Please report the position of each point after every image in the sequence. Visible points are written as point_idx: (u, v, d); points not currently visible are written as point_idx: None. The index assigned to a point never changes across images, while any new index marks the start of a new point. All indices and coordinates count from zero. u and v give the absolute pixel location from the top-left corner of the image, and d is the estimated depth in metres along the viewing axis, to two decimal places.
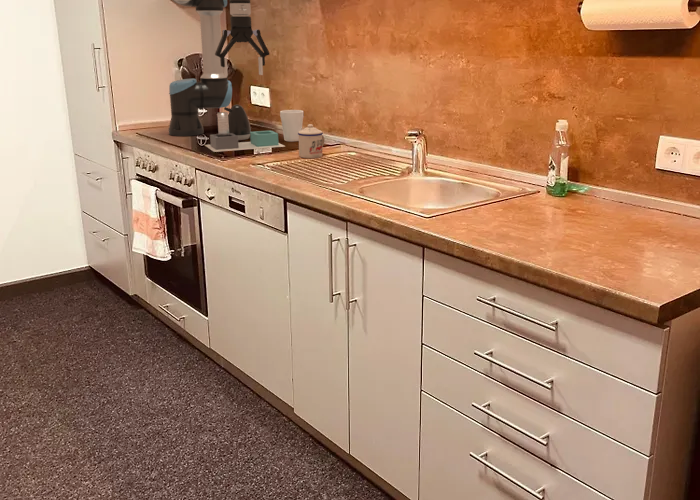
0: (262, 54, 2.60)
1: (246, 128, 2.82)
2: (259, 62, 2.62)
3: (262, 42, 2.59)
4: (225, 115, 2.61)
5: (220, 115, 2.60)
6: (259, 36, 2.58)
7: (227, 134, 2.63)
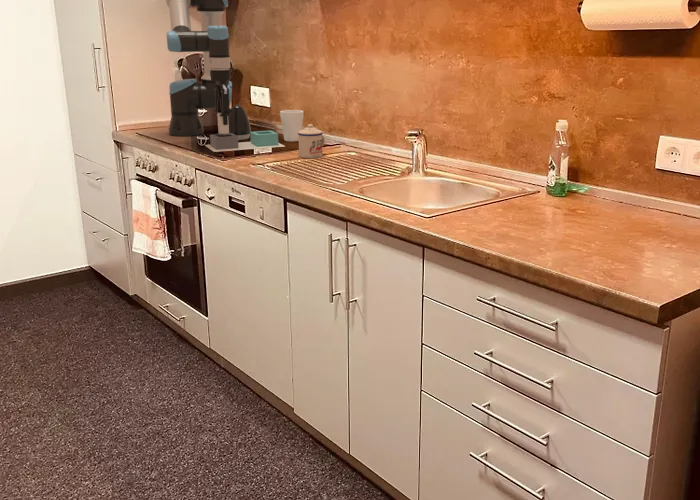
0: (221, 113, 2.59)
1: (246, 128, 2.82)
2: None
3: (222, 101, 2.55)
4: None
5: None
6: (221, 94, 2.55)
7: (227, 134, 2.63)
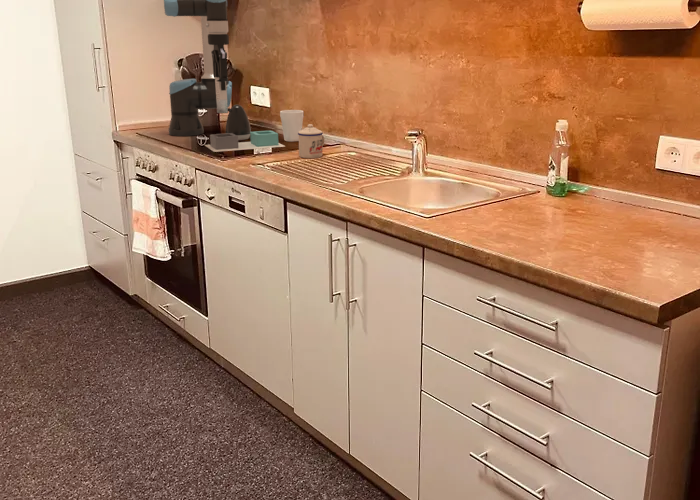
0: (219, 78, 2.55)
1: (246, 128, 2.82)
2: None
3: (220, 65, 2.52)
4: None
5: (218, 79, 2.56)
6: (219, 59, 2.51)
7: (225, 99, 2.59)
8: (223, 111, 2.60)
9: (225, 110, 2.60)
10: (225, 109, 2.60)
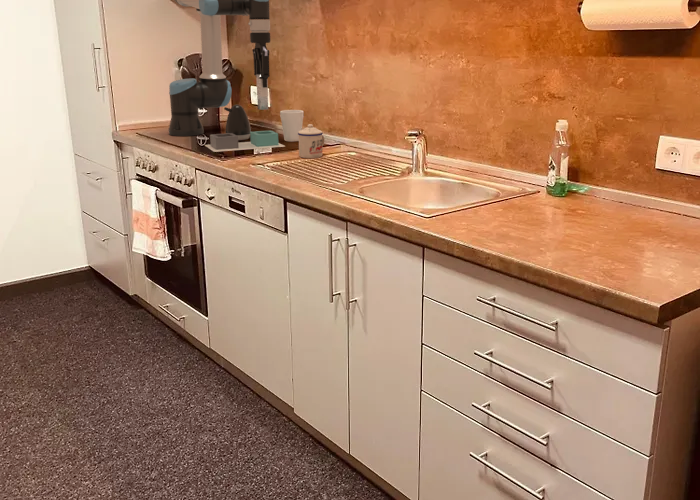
0: (261, 75, 2.61)
1: (246, 128, 2.82)
2: None
3: (262, 63, 2.58)
4: None
5: (259, 76, 2.62)
6: (262, 56, 2.57)
7: (266, 96, 2.65)
8: (264, 107, 2.66)
9: (266, 106, 2.66)
10: (266, 105, 2.66)
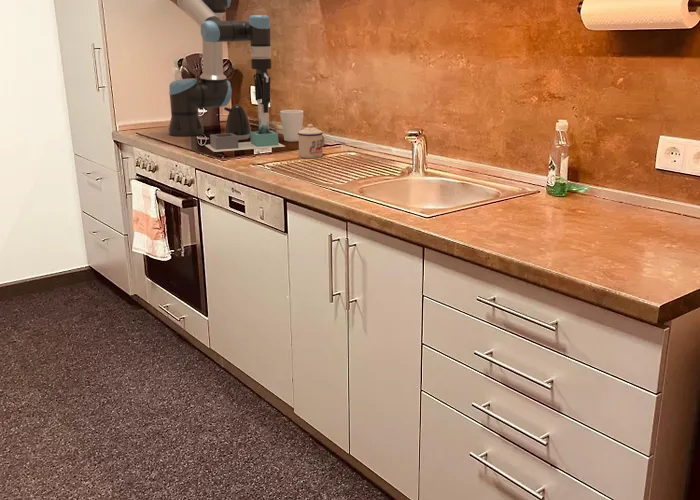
0: (262, 101, 2.64)
1: (246, 128, 2.82)
2: None
3: (263, 89, 2.61)
4: None
5: (260, 101, 2.65)
6: (263, 83, 2.60)
7: None
8: (265, 132, 2.69)
9: (267, 131, 2.69)
10: (267, 130, 2.69)
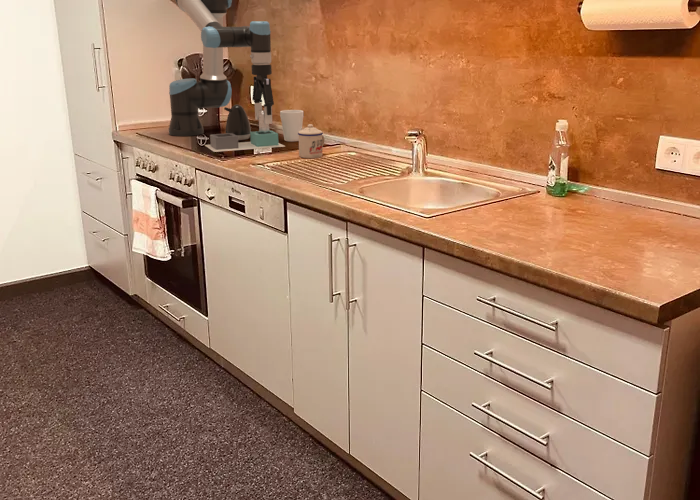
0: (265, 103, 2.61)
1: (246, 128, 2.82)
2: None
3: (265, 92, 2.59)
4: None
5: (261, 113, 2.66)
6: (264, 85, 2.59)
7: (267, 131, 2.69)
8: None
9: None
10: None
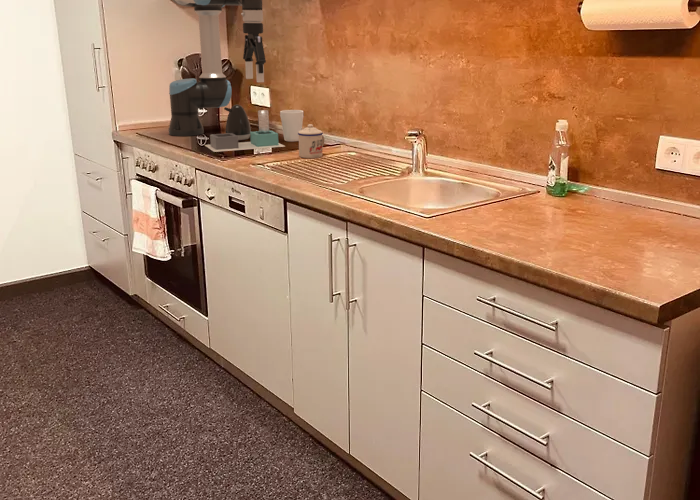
0: (257, 61, 2.57)
1: (246, 128, 2.82)
2: None
3: (256, 49, 2.56)
4: (266, 113, 2.67)
5: (261, 113, 2.66)
6: (255, 43, 2.56)
7: (267, 131, 2.69)
8: None
9: None
10: None
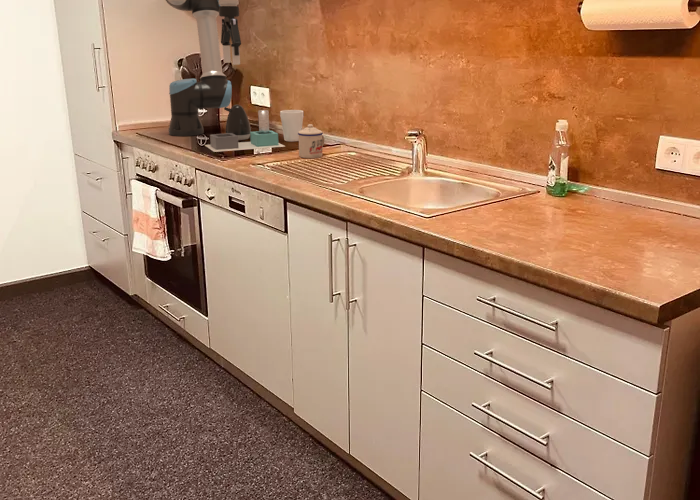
0: (232, 44, 2.60)
1: (246, 128, 2.82)
2: None
3: (232, 32, 2.58)
4: (266, 113, 2.67)
5: (261, 113, 2.66)
6: (231, 25, 2.59)
7: (267, 131, 2.69)
8: None
9: None
10: None
